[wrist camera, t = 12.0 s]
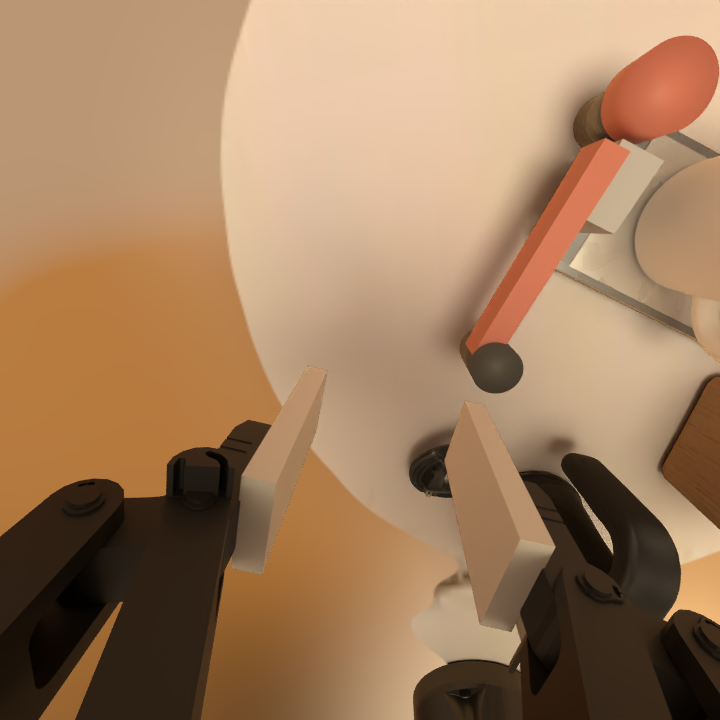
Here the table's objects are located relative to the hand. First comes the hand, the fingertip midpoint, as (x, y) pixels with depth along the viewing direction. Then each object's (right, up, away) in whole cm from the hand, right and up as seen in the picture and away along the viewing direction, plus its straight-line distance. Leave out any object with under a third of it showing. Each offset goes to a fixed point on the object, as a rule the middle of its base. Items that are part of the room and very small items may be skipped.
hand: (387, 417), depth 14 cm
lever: (+11, +10, +10) cm, 18 cm away
